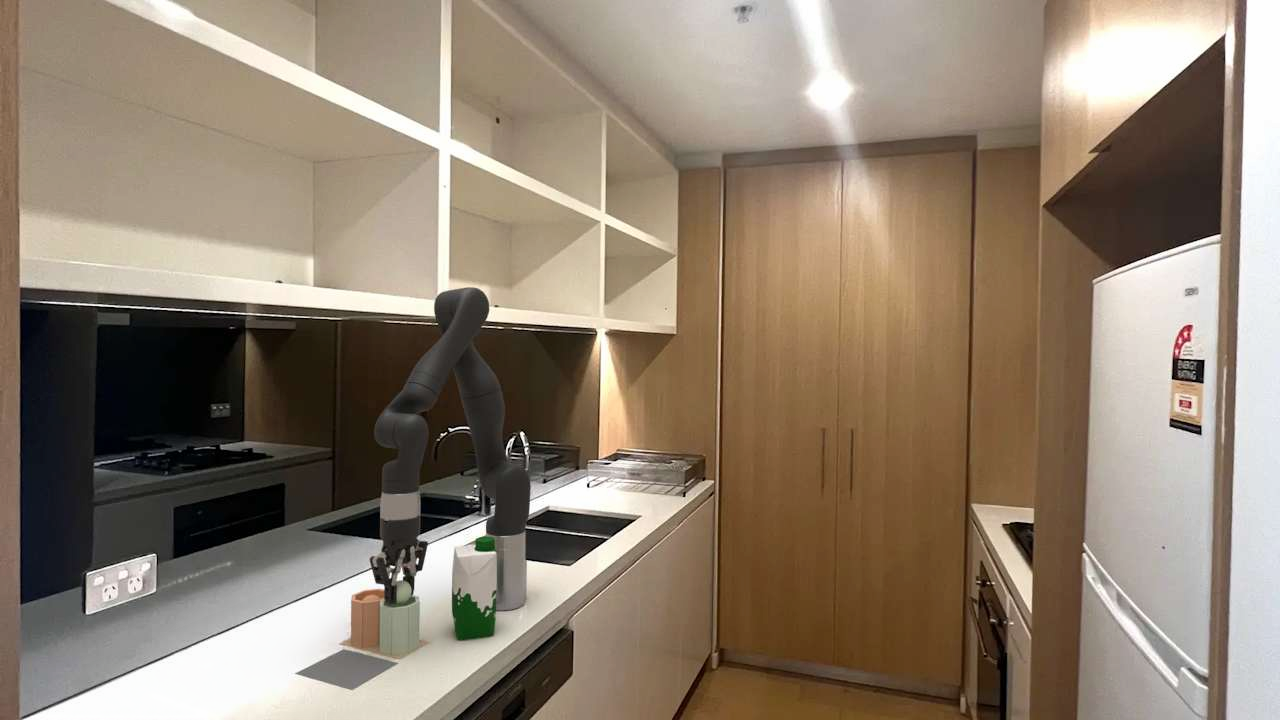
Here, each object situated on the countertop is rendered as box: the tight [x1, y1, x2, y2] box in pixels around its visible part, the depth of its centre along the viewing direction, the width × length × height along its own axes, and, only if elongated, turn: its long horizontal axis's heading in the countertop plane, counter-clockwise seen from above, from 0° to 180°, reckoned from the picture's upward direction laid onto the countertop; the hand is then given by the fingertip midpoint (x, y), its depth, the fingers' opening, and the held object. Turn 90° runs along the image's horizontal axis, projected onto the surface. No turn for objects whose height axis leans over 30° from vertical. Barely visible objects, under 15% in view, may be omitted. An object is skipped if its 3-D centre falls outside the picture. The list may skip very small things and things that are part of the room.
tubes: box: [338, 588, 431, 661], centre depth 133 cm, size 8×16×10 cm, turn 67°
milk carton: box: [451, 536, 497, 642], centre depth 139 cm, size 9×9×20 cm
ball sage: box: [395, 579, 412, 604], centre depth 132 cm, size 4×4×4 cm
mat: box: [294, 648, 399, 691], centre depth 123 cm, size 11×14×1 cm
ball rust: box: [362, 595, 381, 602], centre depth 136 cm, size 4×4×4 cm
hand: (399, 598), depth 132 cm, fingers closed on ball sage, 4 cm apart
